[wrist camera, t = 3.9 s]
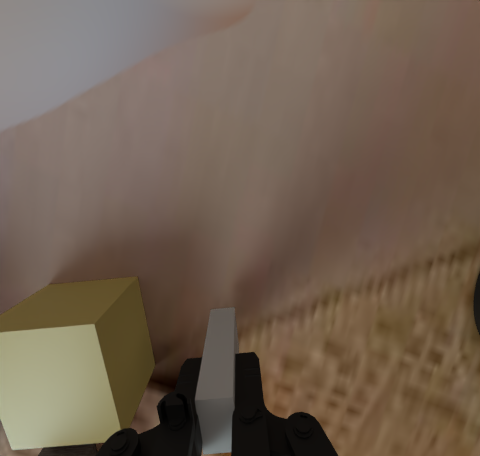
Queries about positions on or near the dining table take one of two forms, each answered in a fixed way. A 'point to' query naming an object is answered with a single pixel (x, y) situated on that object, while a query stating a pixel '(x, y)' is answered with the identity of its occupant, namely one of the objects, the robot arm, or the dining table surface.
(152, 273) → the dining table surface
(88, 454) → the pin
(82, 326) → the block
